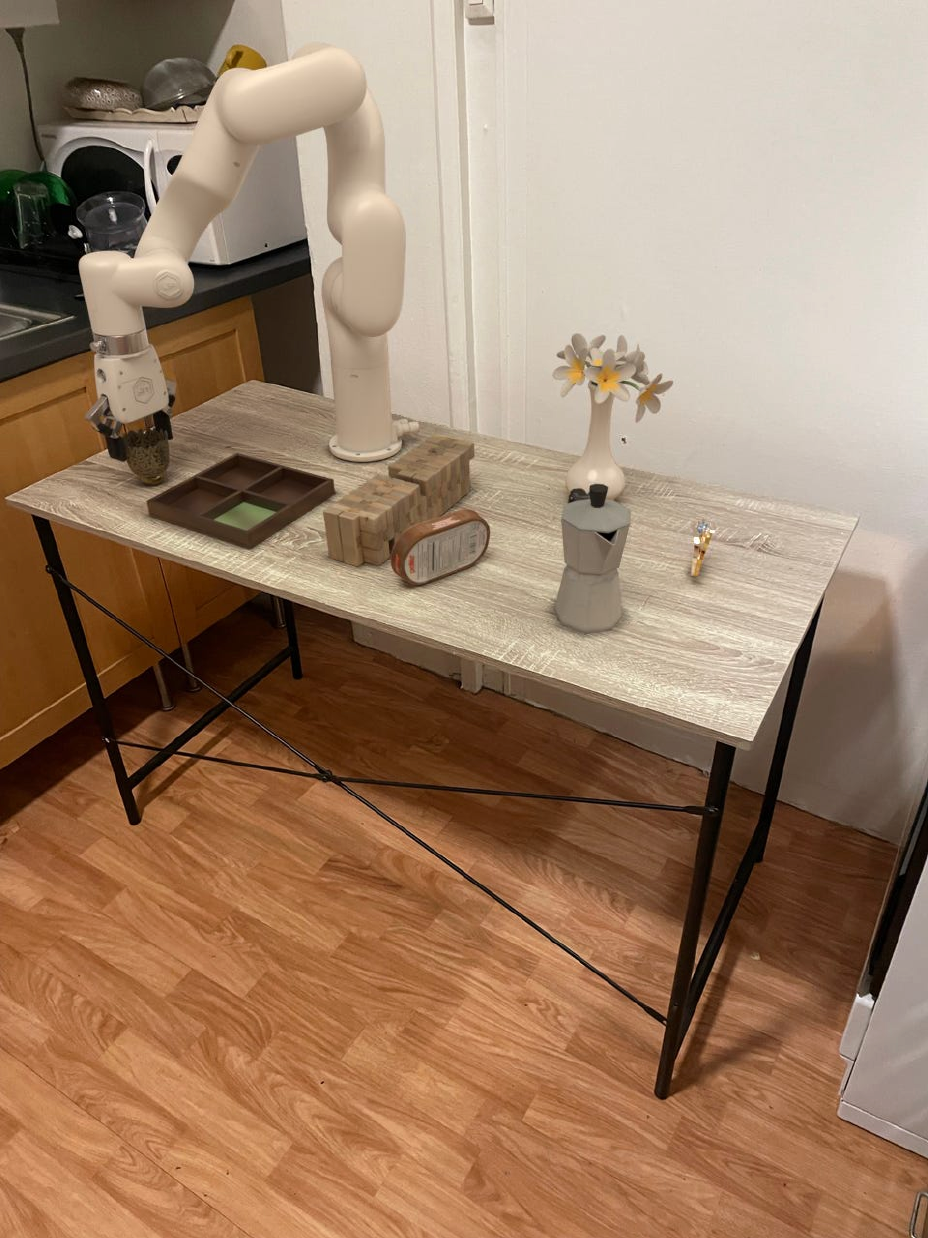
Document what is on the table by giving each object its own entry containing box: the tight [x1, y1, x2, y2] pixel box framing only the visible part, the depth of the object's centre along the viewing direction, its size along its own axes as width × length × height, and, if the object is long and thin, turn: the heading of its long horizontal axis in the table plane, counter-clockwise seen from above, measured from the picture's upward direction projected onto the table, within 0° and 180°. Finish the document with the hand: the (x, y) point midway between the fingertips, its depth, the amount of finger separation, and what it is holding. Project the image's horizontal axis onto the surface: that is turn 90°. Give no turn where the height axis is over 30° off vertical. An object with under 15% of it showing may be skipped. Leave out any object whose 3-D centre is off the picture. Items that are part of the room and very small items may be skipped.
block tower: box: [322, 433, 475, 567], centre depth 136 cm, size 8×8×29 cm
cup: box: [121, 427, 170, 486], centre depth 147 cm, size 8×7×8 cm
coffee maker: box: [553, 484, 632, 634], centre depth 114 cm, size 15×9×18 cm, turn 12°
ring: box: [690, 518, 716, 578], centre depth 123 cm, size 7×3×8 cm, turn 159°
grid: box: [145, 452, 336, 550], centre depth 142 cm, size 20×20×3 cm
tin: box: [390, 508, 491, 586], centre depth 124 cm, size 15×3×8 cm, turn 126°
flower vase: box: [551, 332, 674, 501], centre depth 136 cm, size 13×18×25 cm
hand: (142, 448), depth 146 cm, fingers open, 9 cm apart
